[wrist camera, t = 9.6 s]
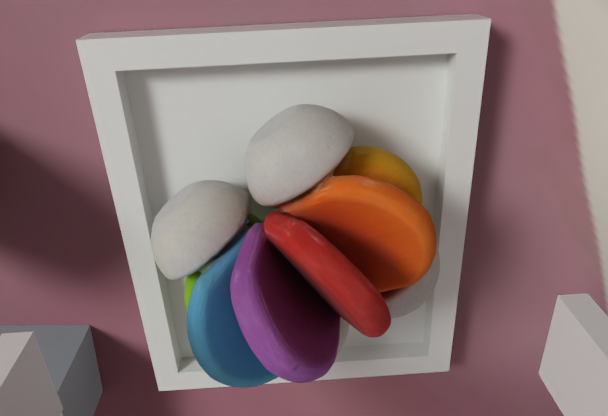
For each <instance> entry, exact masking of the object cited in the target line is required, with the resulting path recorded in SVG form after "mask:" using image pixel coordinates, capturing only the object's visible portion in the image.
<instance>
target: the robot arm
mask: <svg viewBox="0 0 608 416" xmlns="http://www.w3.org/2000/svg"><path fill="white" fill-rule="evenodd" d="M539 376H540V377H541V379H542V381H543V382H544V384H545V386H546V387H547V389H548V391H549V392H550V394H551V395H552V397H553V399H554V400H555V402H556V404H557V405H558V407H559V409H560V410H561V412H562V414H563V415H564V416H608V316H607V315H606V314H605V313H604V312H603V310H602V309H601V308H600V307H599V306H598V305H597V304H596V302H595V301H594V300H593V299H592V298H591V297H590V296H589V294H588V293H586V294H571V295H558V297H557V301H556V305H555V309H554V313H553V317H552V321H551V325H550V329H549V333H548V338H547V342H546V346H545V350H544V354H543V358H542V362H541V366H540V370H539ZM62 411H63V407H62V404H61V401H60V399H59V396H58V394H57V391H56V388H55V386H54V383H53V381H52V378H51V375H50V373H49V370H48V368H47V365H46V362H45V360H44V357H43V355H42V352H41V349H40V347H39V344H38V342H37V339H36V336H35V334H34V331H31V332H17V333H2V334H1V336H0V416H60V415H61V413H62Z"/></svg>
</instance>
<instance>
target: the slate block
mask: <svg viewBox="0 0 608 416" xmlns="http://www.w3.org/2000/svg"><path fill="white" fill-rule="evenodd" d="M31 331H34V334H35V336H36V339H37V342H38V344H39V347H40V349H41V352H42V355H43V357H44V360H45V362H46V365H47V368H48V370H49V373H50V375H51V378H52V381H53V383H54V386H55V388H56V391H57V394H58V396H59V399H60V401H61V404H62V407H63V411H62V413H61V415H60V416H94V413H95V410H96V408H97V405H98V403H99V400H100V397H101V395H102V392H103V388H102V383H101V378H100V373H99V368H98V363H97V358H96V353H95V348H94V343H93V338H92V333H91V328H90V325H35V326H0V336H1V334H2V333H17V332H31Z"/></svg>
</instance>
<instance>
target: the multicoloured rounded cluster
mask: <svg viewBox="0 0 608 416" xmlns="http://www.w3.org/2000/svg"><path fill="white" fill-rule="evenodd" d="M354 137H355V130H354V128H353V126H352V124H351V123H350V122H349V121H348V120H347V119H345V118H344V117H343V116H342V115H340V114H338V113H337V112H335V111H333V110H331V109H329V108H326V107H323V106H319V105H312V104H300V105H294V106H291V107H289V108H287V109H285V110H283V111H281V112H280V113H278V114H276V115H275V116H274V117H272V118H271V119H270V120H268V121H267V122H266V123H265V124H264V125H263V126H262V127H261V128H260V129H259V130H258V131H257V132H256V133H255V134H254V135H253V137H252V138H251V140H250V142H249V144H248V147H247V150H246V155H245V163H244V169H245V178H246V182H247V185H248V188H249V191H250V193H251V194H252V196H253V198H254V199H255V201H256V202H257V203H259V204H260V205H262V206H265V207H272V208H278V209H279V210H278V211H274V210H273V211H272V212H270V213H269V214H268V215H267V216H266V217H265V221H264V222H263V221H262V220H261V219H259V218H258V217H257V216H255V215H253V214H250V208H251V204H252V201H251V197H250V195H249V194H248V193H247V192H245V191H244V190H243V189H241V188H239V187H237V186H235V185H233V184H230V183H227V182H224V181H218V180H204V181H198V182H194V183H191V184H189V185H187V186H186V187H184V188H183V189H181V190H180V191H179V192H178V193H176V194H175V195H174V196H173V197H172V198H171V199H170V200H169V201H168V202H167V203H166V204H165V205H164V206H163V207H162V208H161V210H160V211H159V212H158V214H157V215H156V217H155V219H154V222H153V225H152V231H151V247H152V252H153V256H154V259H155V261H156V264H157V265H158V267H159V269H160V271H161V272H162V273H163V275H164V276H165V277H166V278H168V279H170V280H178V279H181V278H184V277H186V276H187V277H186V283H185V292H184V294H185V304H186V309H187V333H188V339H189V343H190V346H191V349H192V352H193V354H194V356H195V358H196V360H197V362H198V364H199V365H200V366H201V368H202V369H203V370H204V371H205V372H206V373H207V374H208V375H209V376H210V377H211V378H212V379H214V380H215V381H217V382H219V383H222V384H225V385H228V386H232V387H254V386H258V385H262V384H265V383H267V382H270V381H272V380H274V379H276V378H278V377H280V378H282V379H285V380H287V381H291V382H296V383H305V382H310V381H313V380H316V379H318V378H321V377H322V376H324V375H325V374H326V373H327V372H328V371H329V370H330V368H331V367H332V365H333V364H334V362H335V359H336V356H337V354H338V353H339V352H340V350H341V349H342V347H343V345H344V343H345V341H346V338H347V335H348V331H349V325H351V326H353V327H354V328H355V329H356V330H358V331H359V332H360V333H362V334H363V335H365V336H367V337H372V338H375V337H380V336H382V335H383V334H384V333H385V332H386V331H387V330H388V328H389V327H390V325H391V319H392V318H398V317H401V316H404V315H407V314H409V313H411V312H413V311H414V310H416V309H417V308H419V307H420V306H421V305H422V304H423V303H424V302H425V301H426V300H427V299H428V298H429V296H430V295H431V293H432V292H433V290H434V288H435V286H436V284H437V281H438V277H439V271H440V257H439V252H438V248H437V237H436V231H435V227H434V223H433V220H432V218H431V215H430V213H429V212H428V210H427V209H426V208H425V207H424V206H423V205H422V191H421V186H420V182H419V180H418V178H417V176H416V175H415V173H414V172H413V170H412V169H411V167H410V166H409V165H408V164H407V163H406V162H405V161H403V160H402V159H401V158H399V157H398V156H396V155H395V154H393V153H391V152H389V151H386V150H383V149H380V148H376V147H370V146H352V147H351V145H352V143H353V141H354Z"/></svg>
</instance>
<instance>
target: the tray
mask: <svg viewBox="0 0 608 416" xmlns="http://www.w3.org/2000/svg"><path fill="white" fill-rule="evenodd" d="M490 25H491V19H490V18H487V17H484V16H481V15H478V14H461V15H441V16H421V17H402V18H382V19H362V20H342V21H322V22H302V23H282V24H263V25H243V26H223V27H203V28H183V29H163V30H144V31H124V32H104V33H90V34H87V35H85V36H83V37H81V38H79V39H77V40H76V44H77V48H78V52H79V57H80V61H81V65H82V69H83V73H84V78H85V82H86V86H87V90H88V94H89V99H90V103H91V107H92V111H93V116H94V120H95V124H96V128H97V132H98V137H99V141H100V145H101V149H102V153H103V158H104V162H105V166H106V170H107V175H108V179H109V183H110V187H111V191H112V196H113V200H114V204H115V208H116V213H117V217H118V221H119V225H120V229H121V234H122V238H123V242H124V246H125V250H126V255H127V259H128V263H129V267H130V272H131V276H132V280H133V284H134V288H135V293H136V297H137V301H138V305H139V309H140V314H141V318H142V322H143V326H144V331H145V335H146V339H147V343H148V347H149V352H150V356H151V360H152V364H153V369H154V373H155V377H156V381H157V385H158V390H159V391H169V390H183V389H198V388H212V387H227V386H228V385H225V384H222V383H219V382H217V381H215V380H214V379H212V378H211V377H210V376H209V375H208V374H207V373H206V372H205V371H204V370H203V369H202V368H201V366H200V365H199V364H198V362H197V360H196V358H195V356H194V354H193V352H192V349H191V346H190V343H189V339H188V333H187V309H186V304H185V294H184V292H185V283H186V277H187V276H186V277H184V278H181V279H178V280H170V279H168V278H166V277H165V276H164V275H163V273H162V272H161V271H160V269H159V267H158V265H157V264H156V261H155V259H154V256H153V252H152V247H151V231H152V225H153V222H154V219H155V217H156V215H157V214H158V212H159V211H160V210H161V208H162V207H163V206H164V205H165V204H166V203H167V202H168V201H169V200H170V199H171V198H172V197H173V196H174V195H175V194H176V193H178V192H179V191H180V190H181V189H183V188H184V187H186V186H187V185H189V184H191V183H194V182H198V181H204V180H218V181H224V182H227V183H230V184H233V185H235V186H237V187H239V188H241V189H243V190H244V191H245V192H247V193H248V194H249V195H250V197H251V201H252V204H251V208H250V214H253V215H255V216H257V217H258V218H259V219H261V220H262V221H263V222H264V221H265V217H266V216H267V215H268V214H269V213H270V212H272V211H273V210H274V211H278V210H279V209H278V208H272V207H265V206H262V205H260V204H259V203H257V202H256V201H255V199H254V198H253V196H252V194H251V193H250V191H249V188H248V185H247V182H246V178H245V169H244V163H245V155H246V150H247V147H248V144H249V142H250V140H251V138H252V137H253V135H254V134H255V133H256V132H257V131H258V130H259V129H260V128H261V127H262V126H263V125H264V124H265V123H266V122H267V121H268V120H270V119H271V118H272V117H274V116H275V115H276V114H278V113H280V112H281V111H283V110H285V109H287V108H289V107H291V106H294V105H300V104H312V105H319V106H323V107H326V108H329V109H331V110H333V111H335V112H337V113H338V114H340V115H342V116H343V117H344V118H345V119H347V120H348V121H349V122H350V123H351V124H352V126H353V128H354V130H355V137H354V141H353V143H352V145H351V147H352V146H370V147H376V148H380V149H383V150H386V151H389V152H391V153H393V154H395V155H396V156H398V157H399V158H401V159H402V160H403V161H405V162H406V163H407V164H408V165H409V166H410V167H411V169H412V170H413V172H414V173H415V175H416V176H417V178H418V180H419V182H420V186H421V191H422V205H423V206H424V207H425V208H426V209H427V210H428V212H429V213H430V215H431V218H432V220H433V223H434V227H435V231H436V237H437V248H438V252H439V257H440V271H439V277H438V281H437V284H436V286H435V288H434V290H433V292H432V293H431V295H430V296H429V298H428V299H427V300H426V301H425V302H424V303H423V304H422V305H421V306H420V307H419V308H417V309H416V310H414V311H413V312H411V313H409V314H407V315H404V316H401V317H398V318H392V319H391V325H390V327H389V328H388V330H387V331H386V332H385V333H384V334H383V335H382V336H380V337H375V338H372V337H367V336H365V335H363V334H362V333H360V332H359V331H358V330H356V329H355V328H354V327H353V326H351V325H349V331H348V335H347V338H346V341H345V343H344V345H343V347H342V349H341V350H340V352H339V353H338V354H337V356H336V359H335V362H334V364H333V365H332V367H331V368H330V370H329V371H328V372H327V373H326V374H325V375H324V376H322V377H321V378H318V379H316V380H328V379H343V378H357V377H372V376H386V375H401V374H416V373H430V372H445V371H449V367H450V358H451V350H452V342H453V333H454V325H455V317H456V308H457V300H458V292H459V283H460V275H461V267H462V258H463V250H464V242H465V233H466V225H467V217H468V208H469V200H470V192H471V183H472V175H473V167H474V158H475V150H476V142H477V133H478V125H479V117H480V108H481V100H482V92H483V83H484V75H485V67H486V58H487V50H488V42H489V33H490ZM313 381H314V380H313ZM285 382H291V381H287V380H285V379H282V378H280V377H278V378H276V379H274V380H272V381H270V382H267V383H265V384H270V383H285Z"/></svg>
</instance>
